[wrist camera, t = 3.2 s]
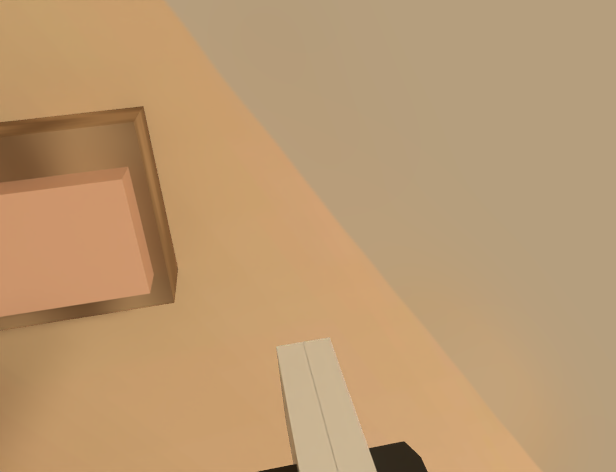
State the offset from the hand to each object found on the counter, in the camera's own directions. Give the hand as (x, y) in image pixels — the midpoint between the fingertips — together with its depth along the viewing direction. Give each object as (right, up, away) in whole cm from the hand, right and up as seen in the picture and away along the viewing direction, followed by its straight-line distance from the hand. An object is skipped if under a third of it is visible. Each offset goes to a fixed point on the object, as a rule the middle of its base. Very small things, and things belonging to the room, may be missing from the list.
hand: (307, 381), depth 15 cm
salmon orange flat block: (-13, +4, +11) cm, 17 cm away
